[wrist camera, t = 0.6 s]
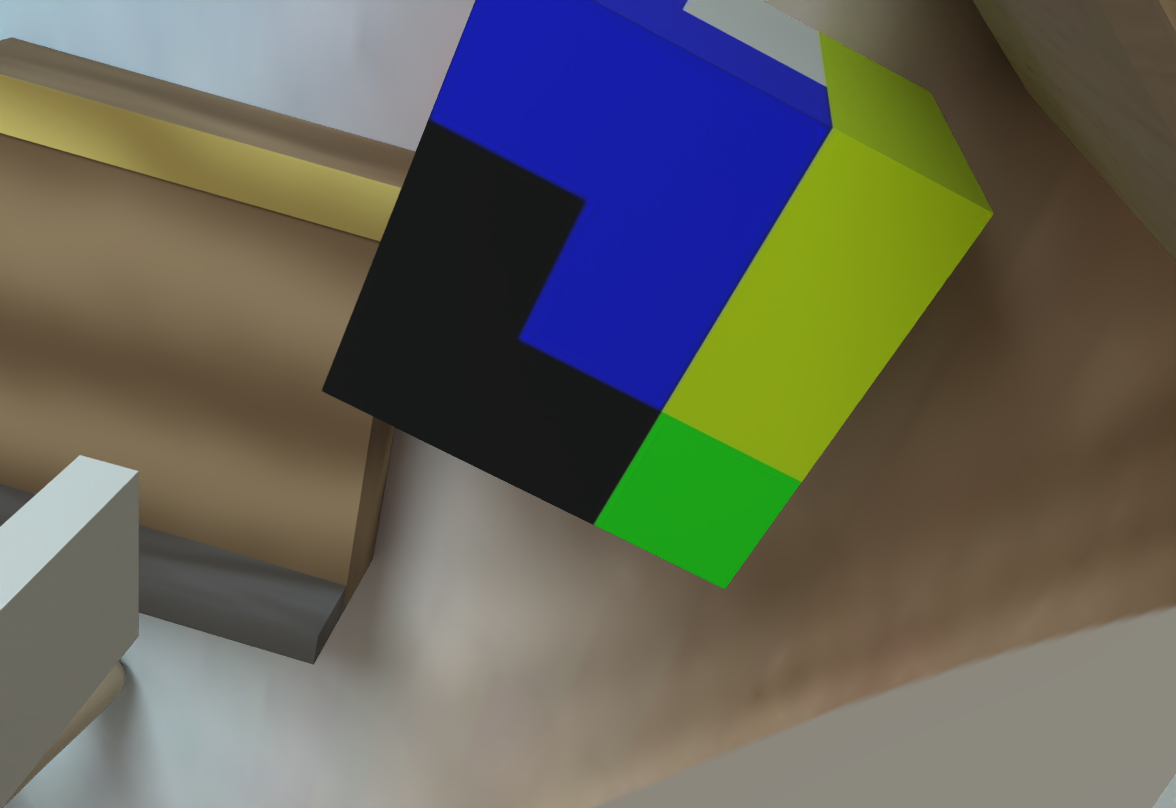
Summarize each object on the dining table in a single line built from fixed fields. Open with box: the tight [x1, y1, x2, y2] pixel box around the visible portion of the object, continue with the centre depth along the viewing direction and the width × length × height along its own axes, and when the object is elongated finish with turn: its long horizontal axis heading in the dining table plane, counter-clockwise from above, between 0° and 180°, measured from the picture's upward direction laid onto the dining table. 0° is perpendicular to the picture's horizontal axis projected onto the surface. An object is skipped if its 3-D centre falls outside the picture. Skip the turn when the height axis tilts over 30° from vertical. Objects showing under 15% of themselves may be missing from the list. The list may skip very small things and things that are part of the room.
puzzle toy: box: [322, 0, 994, 589], centre depth 26 cm, size 10×10×10 cm
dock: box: [0, 38, 415, 664], centre depth 33 cm, size 15×13×6 cm
